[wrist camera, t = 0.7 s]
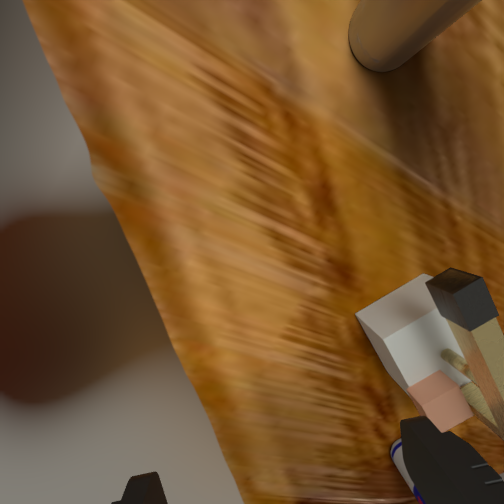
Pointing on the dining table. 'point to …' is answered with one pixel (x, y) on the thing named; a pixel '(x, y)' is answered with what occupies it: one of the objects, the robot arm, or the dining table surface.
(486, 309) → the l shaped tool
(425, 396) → the block
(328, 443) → the dining table surface
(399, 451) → the beverage can
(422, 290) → the box
